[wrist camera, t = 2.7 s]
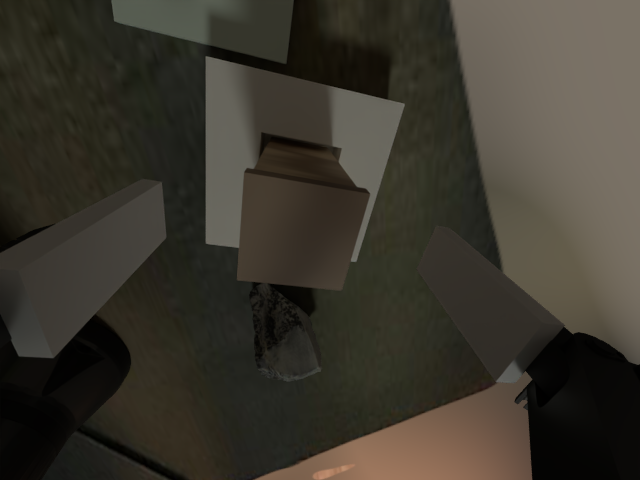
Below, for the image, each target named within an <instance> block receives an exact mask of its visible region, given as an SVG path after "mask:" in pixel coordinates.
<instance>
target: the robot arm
mask: <svg viewBox="0 0 640 480" xmlns="http://www.w3.org/2000/svg"><path fill="white" fill-rule="evenodd" d="M165 238H166V228H165V215H164V203H163V191H162V182H159V181H153V180H147V179H141V180H139V181H137V182H136V183H134V184H132V185H130V186H128V187H126V188H124V189H122V190H120V191H118V192H116V193H114V194H112V195H111V196H109V197H107V198H105V199H103V200H101V201H99V202H97V203H95V204H93V205H91V206H89V207H88V208H86V209H84V210H82V211H80V212H78V213H76V214H74V215H72V216H70V217H68V218H66V219H64V220H63V221H61V222H59V223H57V224H53V225H49V226H46V227H42V228H39V229H35V230H33V231H31V232H29V233H27V234H25V235H23V236H21V237H19V238H17V240H13V241H11V242H9V243H7V244H5V245H3V246H2V248H0V480H41V479H42V478H43V476H44V475H45V473H46V472H47V470H48V469H49V467H50V466H51V464H52V463H53V461H54V459H55V458H56V456H57V455H58V453H59V452H60V450H61V449H62V447H63V446H64V444H65V443H66V441H67V440H68V439H69V437H70V436H71V435H72V434H73V433H74V432H75V431H76V430H77V429H78V428H79V427H80V426H81V425H82V424H83V423H84V422H85V421H86V420H87V419H89V418H90V417H91V416H92V415H93V414H94V413H95V412H96V411H97V410H98V409H99V408H100V407H101V406H102V405H103V404H104V403H105V402H106V401H107V400H108V399H109V398H110V397H112V396H113V395H114V394H115V393H116V391H117V390H118V389H119V387H120V386H121V384H122V382H123V381H124V379H125V377H126V376H127V374H128V372H129V370H130V365H131V361H130V356H129V353H128V351H127V349H126V348H125V346H124V345H123V343H122V342H121V341H120V340H119V339H118V338H117V337H116V336H115V335H113V334H112V333H111V332H109V331H108V330H106V329H105V328H103V327H101V326H100V325H98V324H96V323H94V322H92V321H89V320H90V319H91V318H92V316H93V315H94V314H95V313H96V312H97V311H98V310H99V309H100V308H101V307H102V306H103V305H104V304H105V303H106V302H107V300H108V299H109V298H110V297H111V296H112V295H113V294H114V293H115V292H116V291H117V290H118V289H119V288H120V287H121V285H122V284H123V283H124V282H125V281H126V280H127V279H128V278H129V277H130V276H131V275H132V274H133V273H134V272H135V271H136V269H137V268H138V267H139V266H140V265H141V264H142V263H143V262H144V261H145V260H146V259H147V258H148V257H149V256H150V255H151V253H152V252H153V251H154V250H155V249H156V248H157V247H158V246H159V245H160V244H161V243H162V242H163V241H164V240H165ZM417 271H418V272H419V274H420V275H421V277H422V278H423V279H424V281H425V282H426V284H427V285H428V287H429V288H430V289H431V291H432V292H433V294H434V295H435V296H436V298H437V299H438V301H439V302H440V304H441V305H442V306H443V308H444V309H445V311H446V312H447V313H448V315H449V316H450V318H451V319H452V321H453V322H454V323H455V325H456V326H457V328H458V329H459V330H460V332H461V333H462V335H463V336H464V338H465V339H466V340H467V342H468V343H469V345H470V346H471V348H472V349H473V350H474V352H475V353H476V355H477V356H478V357H479V359H480V360H481V362H482V363H483V365H484V366H485V367H486V369H487V370H488V372H489V373H490V374H491V376H492V377H493V379H494V380H495V382H507V383H515V382H516V381H517V380H518V379H519V378H520V377H521V375H522V374H523V373H524V372H525V371H526V372H527V373H528V374H529V375H530V377H531V378H532V379H533V380H532V381H531V382H530V383H529V384H528V385H527V386H526V387H525V388H524V389H523V391H522V392H521V393H520V394H519V395H518V396H517V397H516V399H515V403H517V404H519V403H520V402H521V401H522V400H527V401H528V403H527V404H526V405H525V406H524V408H525V409H527V410H528V416H529V433H530V450H531V466H532V480H640V365H636V364H633V363H630V362H628V360H627V359H626V358H625V357H624V355H623V354H622V353H620V352H618V351H617V350H616V349H615V348H613V347H611V346H610V345H609V344H607V343H606V342H604V341H602V340H599V339H598V338H596V337H593V336H591V335H588V334H585V333H580V332H578V333H574V334H572V333H571V332H569V331H568V330H567V329H566V328H565V327H564V326H565V325H564V324H563V323H561V322H560V321H559V320H558V319H557V318H556V317H555V316H553V315H552V314H551V313H550V312H549V311H547V310H546V309H545V308H544V307H543V306H541V305H540V304H539V303H538V302H537V301H536V300H534V299H533V298H532V297H531V296H530V295H528V294H527V293H526V292H525V291H524V290H522V289H521V288H520V287H519V286H518V285H517V284H515V283H514V282H513V281H512V280H511V279H509V278H508V277H507V276H506V275H505V274H503V273H502V272H501V271H500V270H499V269H498V268H496V267H495V266H494V265H493V264H492V263H490V262H489V261H488V260H487V259H486V258H484V257H483V256H482V255H481V254H480V253H479V252H477V251H476V250H475V249H474V248H473V247H471V246H470V245H469V244H468V243H467V242H465V241H464V240H463V239H462V238H461V237H460V236H458V235H457V234H456V233H455V232H454V231H452V230H451V229H450V228H447V227H440V226H436V227H435V229H434V232H433V234H432V236H431V238H430V241H429V243H428V245H427V247H426V250H425V252H424V254H423V256H422V258H421V261H420V263H419V265H418V267H417Z"/></svg>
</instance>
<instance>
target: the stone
mask: <svg viewBox="0 0 640 480" xmlns="http://www.w3.org/2000/svg"><path fill="white" fill-rule="evenodd" d="M249 297H250V303H251V306H252V311H253V323H254V330H255V333H256V334H255V338H254V349H255V360H256V364H257V368H258V369H259V370H260V373H261V374H262V375H263V376H266V377H267V378H272V379H279V380H280V379H283V380H284V381H294V380H297V379H302V378H305V377H307V376H308V375H312V374H315V373H317V372H320V371H321V369H322V366H321V352H320V348H319V345H318V343H317V340H316V336H315V333H314V331H313V329H312V323H311V320H310V318H309V317H308V315H307V314H306V313H305V312H304V311H303V310H302V309H301V308H300V307H298V306H297V305H296V304H294V303H292V302H291V301H290V300H288V299H287V298H285V297H284V296H283V295H282V294H280V293H279V292H278V291H276V290H275V289H274V288H273V287H272V286H270V285H268V284H267V283H261V284H259V285H257V286H256V287H255V288H254V289H252V291H251V292H250V294H249Z"/></svg>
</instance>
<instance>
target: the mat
mask: <svg viewBox="0 0 640 480" xmlns="http://www.w3.org/2000/svg"><path fill="white" fill-rule="evenodd" d="M293 4H294V0H112V7H113V15H114V21H116V22H118V23H121V24H125V25H129V26H133V27H137V28H141V29H145V30H149V31H153V32H157V33H161V34H165V35H169V36H173V37H177V38H181V39H185V40H189V41H193V42H197V43H201V44H205V45H209V46H214V47H218V48H222V49H226V50H230V51H234V52H238V53H242V54H246V55H250V56H254V57H258V58H262V59H266V60H270V61H274V62H278V63H282V64H287V55H288V46H289V38H290V29H291V21H292V12H293Z"/></svg>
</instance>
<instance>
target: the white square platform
mask: <svg viewBox="0 0 640 480" xmlns="http://www.w3.org/2000/svg"><path fill="white" fill-rule="evenodd" d="M404 105H405V104H403V103H399V102H394V101H390V100H386V99H382V98H378V97H374V96H370V95H365V94H361V93H357V92H353V91H349V90H345V89H340V88H336V87H332V86H328V85H324V84H320V83H315V82H311V81H307V80H303V79H299V78H295V77H290V76H286V75H282V74H278V73H274V72H270V71H266V70H261V69H257V68H253V67H249V66H245V65H241V64H236V63H232V62H228V61H224V60H220V59H216V58H211V57H207V56H206V244H212V245H221V246H229V247H237V248H239V240H240V225H241V210H242V195H243V180H244V172H245V170H246V169H247V168H251V169H254V168H255V166H256V164H257V162H258V160H259V159H260V157H261V155H262V153H263V151H264V150H265V148H266V146H267V144H268V143H269V141H270V139H271V137H277V138H282V139H287V140H292V141H297V142H302V143H307V144H312V145H317V146H322V147H327V148H328V149H329V150H330V152H331V153H332V154H333V156H334V157H335V158H336V160H337V161H338V162H339V164H340V165H341V166H342V168H343V169H344V170H345V172H346V173H347V174H348V176H349V177H350V178H351V180H352V181H353V182H354V184H355V185H356V186H357V187H360V188H366V189H367V190H368V191H369V193H370V197H369V201H368V204H367V208H366V211H365V214H364V218H363V221H362V224H361V228H360V231H359V234H358V238H357V241H356V245H355V248H354V251H353V255H352V258H351V261H353V262H356V261H357V257H358V254H359V251H360V248H361V244H362V241H363V238H364V235H365V231H366V228H367V225H368V222H369V218H370V215H371V212H372V209H373V206H374V202H375V199H376V196H377V193H378V189H379V186H380V183H381V180H382V176H383V173H384V170H385V167H386V163H387V160H388V157H389V154H390V151H391V147H392V144H393V141H394V138H395V134H396V131H397V128H398V125H399V121H400V118H401V115H402V112H403V109H404Z"/></svg>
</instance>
